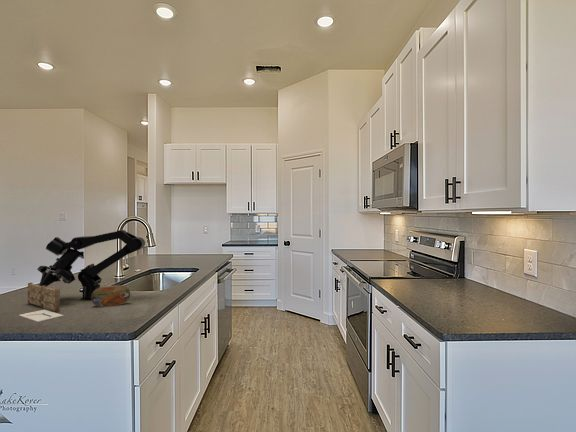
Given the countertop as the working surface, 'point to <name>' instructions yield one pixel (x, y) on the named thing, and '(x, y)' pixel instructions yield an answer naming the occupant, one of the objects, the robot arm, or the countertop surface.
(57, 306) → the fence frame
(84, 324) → the countertop surface
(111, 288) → the tin
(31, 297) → the fence panel
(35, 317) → the card
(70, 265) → the robot arm
